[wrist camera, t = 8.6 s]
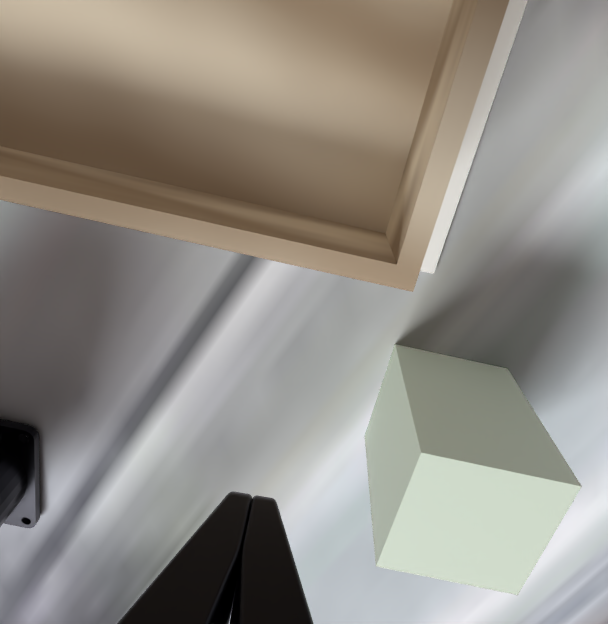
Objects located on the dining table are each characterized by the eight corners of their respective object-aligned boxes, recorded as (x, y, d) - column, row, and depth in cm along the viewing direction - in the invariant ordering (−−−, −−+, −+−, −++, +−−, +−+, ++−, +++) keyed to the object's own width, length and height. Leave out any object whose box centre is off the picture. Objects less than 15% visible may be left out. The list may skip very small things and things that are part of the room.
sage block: (467, 457, 23) (517, 595, 17) (364, 435, 23) (375, 566, 17) (507, 368, 21) (581, 486, 15) (394, 343, 21) (421, 453, 15)
